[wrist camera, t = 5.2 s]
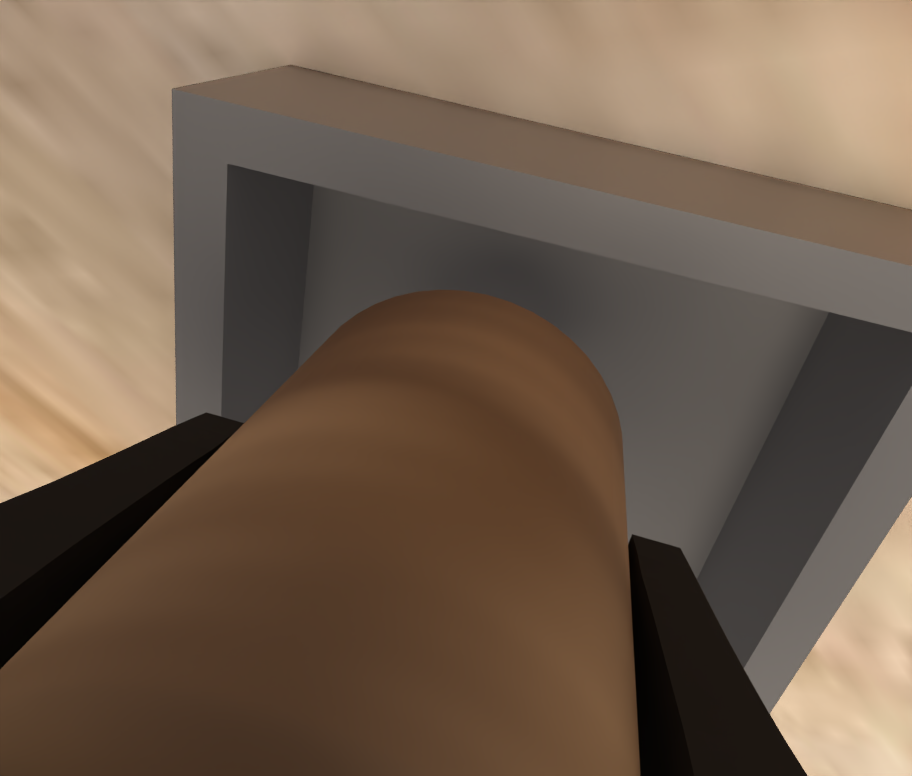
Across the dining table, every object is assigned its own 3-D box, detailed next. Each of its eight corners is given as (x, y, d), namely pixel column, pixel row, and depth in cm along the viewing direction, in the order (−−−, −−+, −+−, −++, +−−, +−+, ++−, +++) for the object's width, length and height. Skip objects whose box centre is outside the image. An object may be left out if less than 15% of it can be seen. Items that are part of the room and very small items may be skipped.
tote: (255, 613, 25) (180, 741, 21) (290, 65, 16) (171, 88, 12) (647, 730, 24) (654, 890, 20) (920, 212, 15) (1041, 297, 11)
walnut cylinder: (284, 535, 12) (-53, 1040, 6) (313, 252, 10) (-175, 575, 4) (572, 616, 12) (538, 1251, 5) (669, 338, 10) (797, 867, 3)
